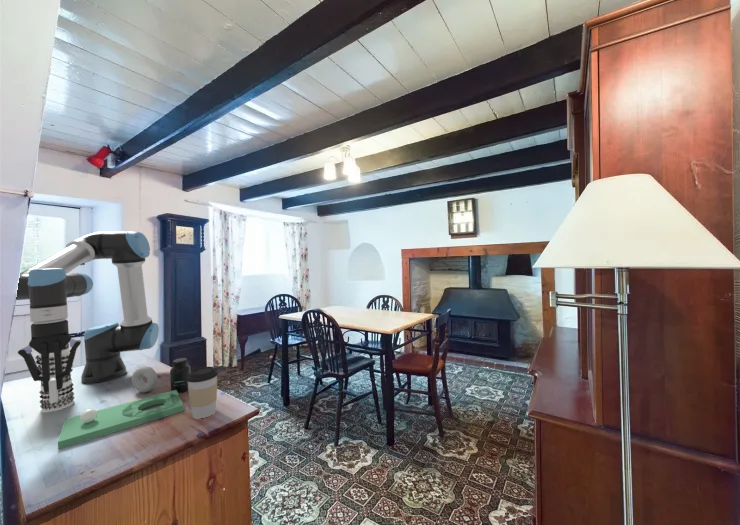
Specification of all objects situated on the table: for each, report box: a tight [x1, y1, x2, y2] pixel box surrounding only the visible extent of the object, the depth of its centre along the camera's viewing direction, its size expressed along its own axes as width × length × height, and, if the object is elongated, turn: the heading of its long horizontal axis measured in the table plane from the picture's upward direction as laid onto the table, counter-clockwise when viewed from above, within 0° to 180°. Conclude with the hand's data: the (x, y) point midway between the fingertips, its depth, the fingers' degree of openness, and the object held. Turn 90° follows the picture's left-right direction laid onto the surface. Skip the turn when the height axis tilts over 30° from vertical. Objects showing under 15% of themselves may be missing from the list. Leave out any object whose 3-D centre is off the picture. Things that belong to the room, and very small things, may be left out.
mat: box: [57, 390, 185, 450], centre depth 100 cm, size 16×30×2 cm, turn 129°
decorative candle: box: [35, 343, 75, 413], centre depth 109 cm, size 9×9×25 cm
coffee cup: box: [187, 366, 219, 420], centre depth 101 cm, size 9×9×15 cm
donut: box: [131, 366, 158, 393], centre depth 119 cm, size 10×3×10 cm, turn 84°
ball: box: [80, 408, 98, 423], centre depth 94 cm, size 4×4×4 cm
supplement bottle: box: [169, 357, 191, 394], centre depth 120 cm, size 7×7×12 cm
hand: (54, 401), depth 89 cm, fingers closed
